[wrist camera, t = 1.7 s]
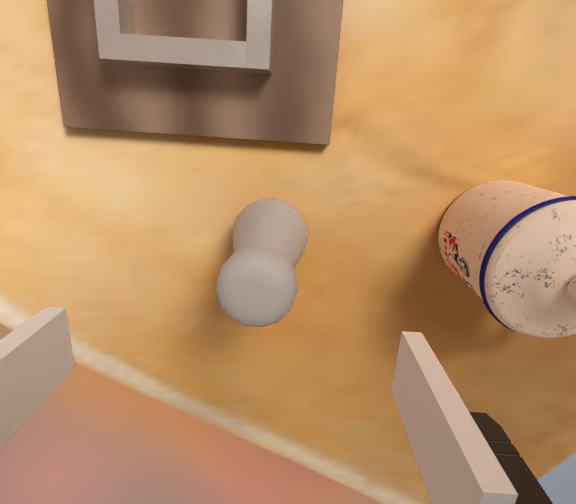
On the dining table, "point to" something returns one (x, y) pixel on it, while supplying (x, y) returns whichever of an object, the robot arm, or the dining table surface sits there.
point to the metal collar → (185, 42)
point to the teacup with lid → (516, 254)
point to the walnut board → (202, 73)
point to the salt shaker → (262, 263)
